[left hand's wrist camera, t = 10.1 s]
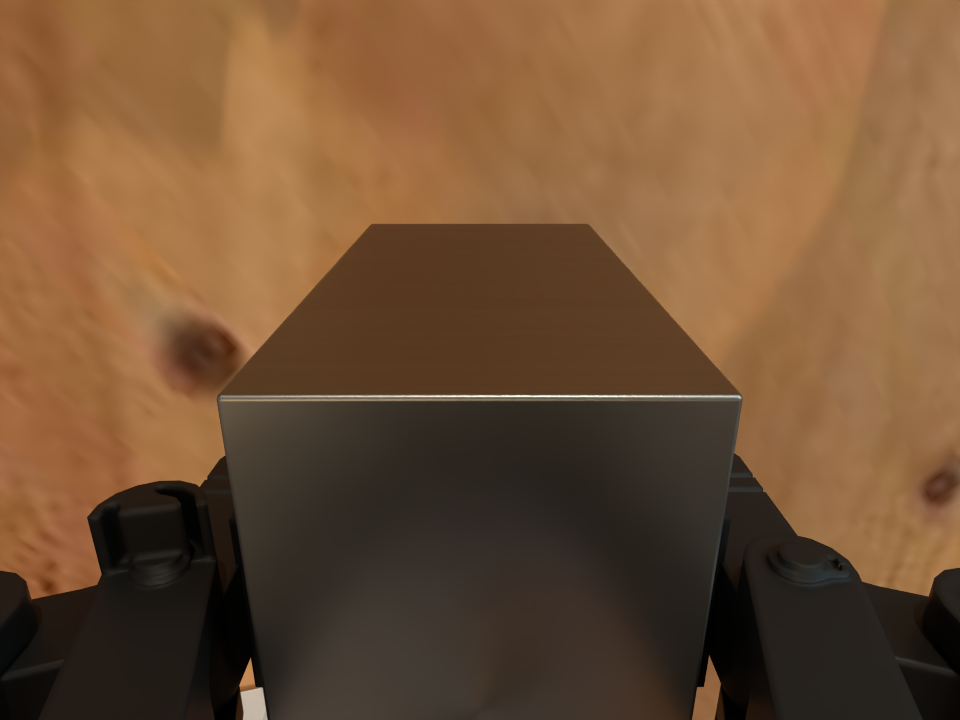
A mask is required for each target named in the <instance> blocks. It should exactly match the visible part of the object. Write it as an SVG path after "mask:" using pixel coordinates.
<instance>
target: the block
mask: <svg viewBox="0 0 960 720" xmlns="http://www.w3.org/2000/svg"><path fill="white" fill-rule="evenodd" d="M217 404H218V410H219V417H220V423H221V429H222V436H223V442H224V448H225V455H226V461H227V467H228V473H229V480H230V486H231V492H232V499H233V505H234V511H235V518H236V524H237V530H238V536H239V543H240V549H241V555H242V562H243V568H244V574H245V581H246V587H247V593H248V599H249V606H250V612H251V618H252V625H253V631H254V637H255V644H256V650H257V656H258V663H259V669H260V675H261V681H262V688H263V694H264V700H265V707H266V713H267V719H268V720H692V716H693V709H694V703H695V697H696V690H697V684H698V678H699V671H700V665H701V659H702V652H703V646H704V640H705V633H706V627H707V621H708V614H709V608H710V602H711V595H712V589H713V583H714V577H715V570H716V564H717V558H718V551H719V545H720V539H721V532H722V526H723V520H724V513H725V507H726V501H727V494H728V488H729V482H730V475H731V469H732V463H733V456H734V450H735V444H736V437H737V431H738V425H739V418H740V412H741V406H742V396H741V394H740V393H739V392H738V390H737V389H736V388H735V387H734V386H733V385H732V384H731V383H730V382H729V380H728V379H727V378H726V377H725V376H724V375H723V374H722V373H721V372H720V370H719V369H718V368H717V367H716V366H715V365H714V364H713V363H712V361H711V360H710V359H709V358H708V357H707V356H706V355H705V354H704V353H703V351H702V350H701V349H700V348H699V347H698V346H697V345H696V344H695V342H694V341H693V340H692V339H691V338H690V337H689V336H688V335H687V334H686V332H685V331H684V330H683V329H682V328H681V327H680V326H679V325H678V324H677V322H676V321H675V320H674V319H673V318H672V317H671V316H670V315H669V313H668V312H667V311H666V310H665V309H664V308H663V307H662V306H661V305H660V303H659V302H658V301H657V300H656V299H655V298H654V297H653V296H652V294H651V293H650V292H649V291H648V290H647V289H646V288H645V287H644V286H643V284H642V283H641V282H640V281H639V280H638V279H637V278H636V277H635V276H634V274H633V273H632V272H631V271H630V270H629V269H628V268H627V267H626V265H625V264H624V263H623V262H622V261H621V260H620V259H619V258H618V257H617V255H616V254H615V253H614V252H613V251H612V250H611V249H610V248H609V246H608V245H607V244H606V243H605V242H604V241H603V240H602V239H601V238H600V236H599V235H598V234H597V233H596V232H595V231H594V230H593V229H592V227H591V226H590V225H588V224H371V225H370V226H369V227H368V228H367V229H366V231H365V232H364V233H363V234H362V235H361V236H360V237H359V238H358V239H357V241H356V242H355V243H354V244H353V245H352V246H351V247H350V248H349V249H348V251H347V252H346V253H345V254H344V255H343V256H342V257H341V258H340V259H339V261H338V262H337V263H336V264H335V265H334V266H333V267H332V268H331V269H330V271H329V272H328V273H327V274H326V275H325V276H324V277H323V278H322V279H321V281H320V282H319V283H318V284H317V285H316V286H315V287H314V288H313V290H312V291H311V292H310V293H309V294H308V295H307V296H306V297H305V298H304V300H303V301H302V302H301V303H300V304H299V305H298V306H297V307H296V308H295V310H294V311H293V312H292V313H291V314H290V315H289V316H288V317H287V318H286V320H285V321H284V322H283V323H282V324H281V325H280V326H279V327H278V328H277V330H276V331H275V332H274V333H273V334H272V335H271V336H270V337H269V338H268V340H267V341H266V342H265V343H264V344H263V345H262V346H261V347H260V349H259V350H258V351H257V352H256V353H255V354H254V355H253V356H252V357H251V359H250V360H249V361H248V362H247V363H246V364H245V365H244V366H243V367H242V369H241V370H240V371H239V372H238V373H237V374H236V375H235V376H234V377H233V379H232V380H231V381H230V382H229V383H228V384H227V385H226V386H225V387H224V389H223V390H222V391H221V392H220V393H219V394H218V396H217Z"/></svg>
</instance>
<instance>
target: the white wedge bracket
mask: <svg viewBox="0 0 960 720" xmlns="http://www.w3.org/2000/svg"><path fill="white" fill-rule="evenodd" d="M241 698H242V705H243V711H244V715H243V720H268V719H267V713H266V707H265V700H264V694H263V688H257V689H253V690H248V691H243V692H241Z"/></svg>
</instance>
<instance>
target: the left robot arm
mask: <svg viewBox="0 0 960 720" xmlns="http://www.w3.org/2000/svg"><path fill="white" fill-rule="evenodd" d="M207 477H208V478H207V480H205V481H204V482H203V483H202V485H201V486H200V487H199V486H197V485H196V484H192V483H188V482H184V481H157V482H152V483H147V484H142V485H138V486H135V487H132V488H130V489H127V490H124V491H122V492H119V493H117V494H115V495H113V496H111V497H110V498H108V499H107V500H105V501H103V502H102V503H100V504H99V505H98V506H97V507H96V508H95V509H94V510H93V511H92V512H91V513H90V515H89V516H88V517H87V519H88V522H89V526H90V530H91V534H92V538H93V542H94V546H95V550H96V554H97V558H98V562H99V566H100V570H101V573H102V575H101V577H100V580H99V582H98V584H97V585H95V586H91V587H87V588H84V589H80V590H75V591H70V592H65V593H61V594H56V595H51V596H46V597H41V598H36V599H31V596H30V593H29V590H28V586H27V583H26V581H25V580H24V579H23V578H21V577H20V576H19V575H18V574H16V573H11V572H5V571H0V720H243V715H244V711H243V705H242V698H241V692H240V687H239V684H240V682H241V679H242V677H243V675H244V672H245V670H246V667H247V665H248V663H249V660H250V658H251V661H252V667H253V673H254V679H255V685H256V687H262V681H261V675H260V669H259V663H258V656H257V650H256V644H255V637H254V631H253V625H252V618H251V612H250V606H249V599H248V593H247V587H246V581H245V574H244V568H243V562H242V555H241V549H240V543H239V536H238V530H237V524H236V518H235V511H234V505H233V499H232V492H231V486H230V480H229V473H228V467H227V461H226V456H224V457H223V458H221V459H220V460H219V461H218V463H217V464H216V466H215V467H214V468H213V470H212V471H211V472H210V474H209V475H208V476H207ZM709 655H710V658H711V660H712V663H713V665H714V668H715V670H716V672H717V675H718V677H719V680H720V682H721V687H720V692H719V698H718V704H717V709H716V715H715V720H960V568H955V569H949V570H944V571H943V572H941V573H940V574H939V575H938V576H936V577H935V578H934V581H933V584H932V588H931V591H930V594H929V597H928V596H923V595H918V594H913V593H908V592H904V591H899V590H894V589H889V588H884V587H879V586H876V585H872V584H868V583H864V582H862V581H861V579H860V576H859V574H858V573H857V571H856V570H855V569H854V567H853V566H852V565H851V563H850V562H849V560H847V559H846V558H845V557H843V556H842V555H840V554H839V553H838V552H836V551H835V550H834V549H832V548H830V547H828V546H826V545H824V544H821V543H819V542H817V541H814V540H812V539H809V538H805V537H800V536H797V534H796V533H795V532H794V530H793V529H792V528H791V526H790V525H789V523H788V522H787V521H786V519H785V518H784V517H783V515H782V514H781V513H780V511H779V510H778V508H777V507H776V506H775V504H774V503H773V502H772V500H771V499H770V498H769V496H768V495H767V493H766V492H763V488H762V487H761V485H760V484H759V483H758V481H757V480H756V478H753V477H752V473H751V472H750V470H749V469H748V468H747V466H746V465H745V463H744V462H743V461H742V459H741V458H740V457H739V456H737V455H736V454H734V456H733V463H732V469H731V475H730V482H729V488H728V494H727V501H726V507H725V513H724V520H723V526H722V532H721V539H720V545H719V551H718V558H717V564H716V570H715V577H714V583H713V589H712V595H711V602H710V608H709V614H708V621H707V627H706V633H705V640H704V646H703V652H702V659H701V665H700V671H699V678H698V684H697V687H704V683H705V676H706V670H707V664H708V658H709Z"/></svg>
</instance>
